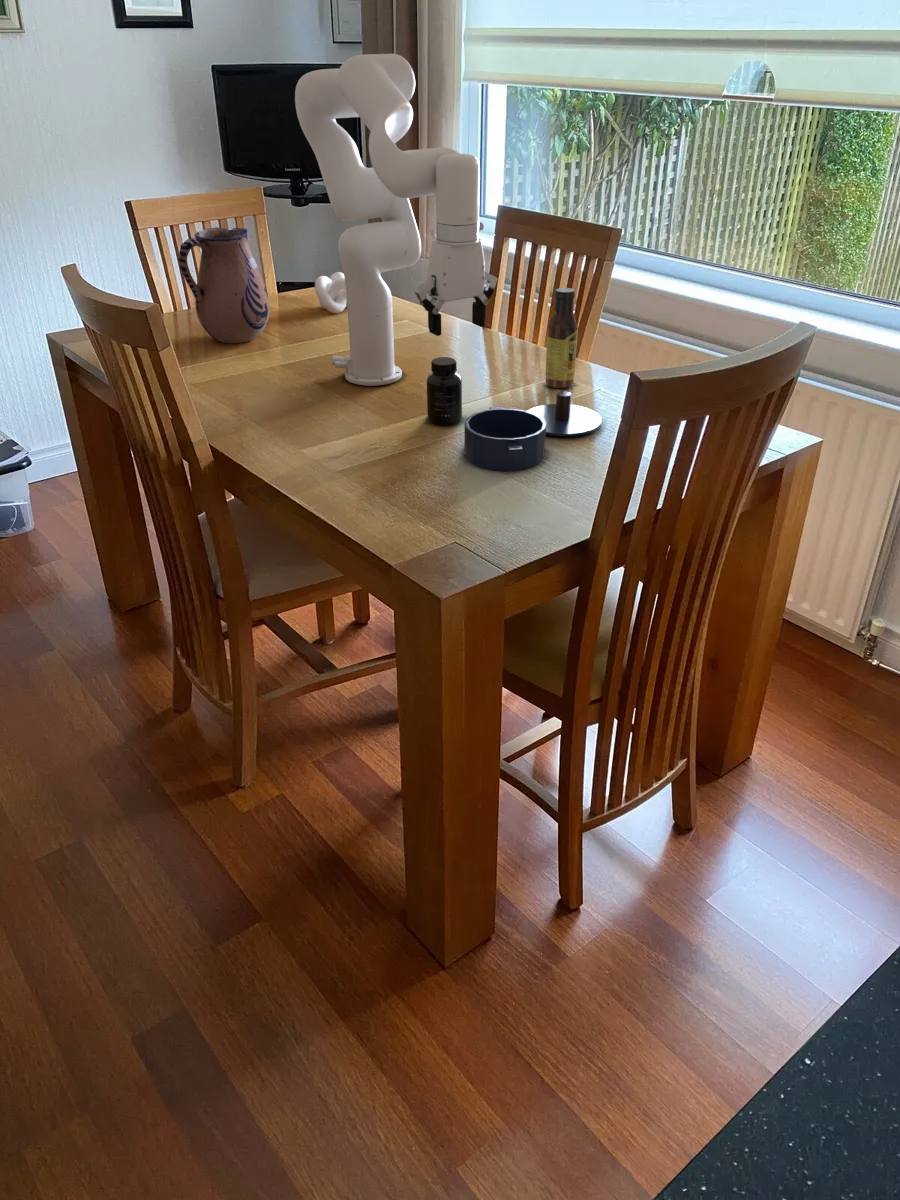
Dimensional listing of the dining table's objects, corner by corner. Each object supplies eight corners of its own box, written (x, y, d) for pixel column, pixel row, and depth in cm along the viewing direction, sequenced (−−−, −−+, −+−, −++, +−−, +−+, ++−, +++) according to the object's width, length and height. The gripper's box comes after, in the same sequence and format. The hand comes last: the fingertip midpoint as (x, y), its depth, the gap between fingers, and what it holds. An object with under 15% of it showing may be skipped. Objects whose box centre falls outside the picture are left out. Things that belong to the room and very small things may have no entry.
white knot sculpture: (339, 318, 236) (336, 283, 231) (304, 311, 241) (301, 277, 236) (365, 308, 244) (363, 274, 239) (331, 302, 249) (328, 268, 244)
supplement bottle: (426, 414, 180) (425, 355, 173) (460, 412, 180) (460, 354, 173) (428, 427, 174) (427, 367, 167) (463, 426, 174) (463, 365, 168)
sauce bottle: (572, 390, 190) (579, 295, 179) (543, 388, 191) (548, 293, 180) (575, 380, 196) (582, 286, 185) (546, 378, 197) (551, 285, 186)
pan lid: (531, 441, 168) (533, 410, 165) (515, 411, 181) (516, 381, 177) (611, 436, 170) (614, 406, 166) (589, 407, 182) (592, 378, 179)
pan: (473, 480, 154) (474, 448, 151) (457, 435, 170) (457, 405, 167) (555, 475, 156) (557, 443, 152) (531, 431, 172) (533, 401, 169)
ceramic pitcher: (287, 334, 224) (276, 228, 210) (227, 358, 209) (211, 245, 195) (236, 324, 232) (222, 221, 218) (175, 345, 217) (155, 236, 203)
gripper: (485, 223, 164) (483, 317, 174) (404, 234, 156) (406, 332, 166) (509, 230, 159) (506, 327, 168) (427, 242, 151) (428, 342, 160)
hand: (457, 329), depth 167 cm, fingers open, 9 cm apart
